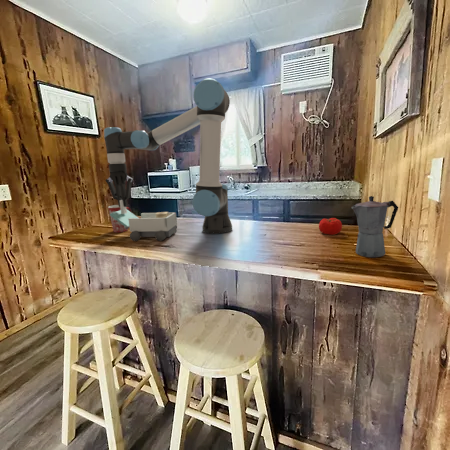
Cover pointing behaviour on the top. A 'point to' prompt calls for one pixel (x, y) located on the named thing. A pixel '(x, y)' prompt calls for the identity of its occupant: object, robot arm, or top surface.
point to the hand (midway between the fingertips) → (124, 213)
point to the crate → (161, 214)
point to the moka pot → (372, 226)
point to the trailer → (152, 226)
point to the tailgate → (123, 217)
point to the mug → (115, 224)
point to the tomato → (330, 226)
